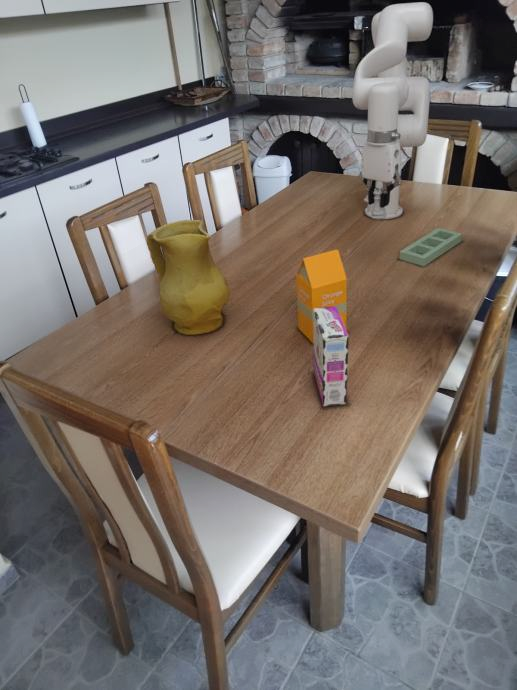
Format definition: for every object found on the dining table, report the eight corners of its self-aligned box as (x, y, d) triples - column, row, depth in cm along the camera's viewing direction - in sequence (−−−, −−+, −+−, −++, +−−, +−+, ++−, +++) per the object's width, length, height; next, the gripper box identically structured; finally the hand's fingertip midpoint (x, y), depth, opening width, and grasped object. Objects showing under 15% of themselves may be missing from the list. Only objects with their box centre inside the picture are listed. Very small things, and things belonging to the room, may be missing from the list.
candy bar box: (348, 405, 106) (349, 335, 97) (323, 407, 106) (322, 338, 96) (336, 370, 115) (337, 304, 106) (313, 373, 115) (311, 307, 106)
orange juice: (298, 328, 130) (294, 252, 119) (330, 318, 132) (329, 242, 121) (313, 344, 124) (311, 265, 113) (346, 333, 126) (348, 255, 115)
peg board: (399, 259, 156) (399, 251, 155) (437, 235, 167) (438, 227, 166) (423, 266, 151) (424, 258, 150) (461, 241, 162) (462, 233, 161)
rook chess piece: (386, 219, 149) (387, 190, 145) (370, 220, 150) (370, 191, 146) (386, 214, 153) (387, 186, 149) (370, 214, 154) (371, 186, 150)
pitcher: (178, 348, 126) (160, 246, 113) (154, 317, 141) (136, 224, 128) (244, 327, 132) (234, 229, 119) (214, 300, 147) (203, 209, 134)
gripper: (417, 136, 137) (411, 206, 147) (364, 129, 147) (362, 195, 157) (401, 143, 133) (396, 215, 143) (347, 135, 143) (346, 202, 153)
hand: (378, 204), depth 150 cm, fingers closed on rook chess piece, 3 cm apart
